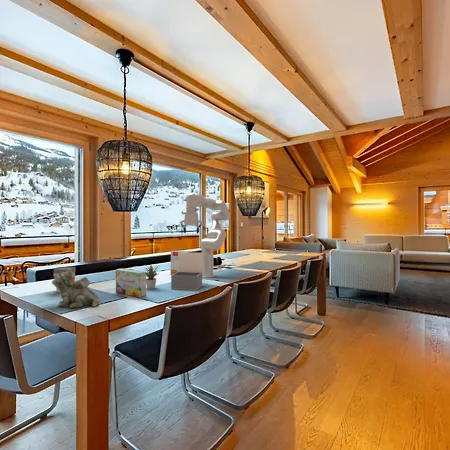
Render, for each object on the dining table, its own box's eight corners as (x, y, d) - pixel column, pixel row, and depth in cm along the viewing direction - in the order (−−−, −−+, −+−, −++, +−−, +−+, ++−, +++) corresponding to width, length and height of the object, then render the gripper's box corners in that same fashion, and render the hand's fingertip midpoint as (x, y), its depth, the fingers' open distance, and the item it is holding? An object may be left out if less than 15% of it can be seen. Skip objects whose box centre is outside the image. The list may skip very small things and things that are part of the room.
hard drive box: (170, 274, 249) (170, 251, 249) (173, 273, 256) (173, 250, 256) (188, 275, 246) (188, 251, 246) (190, 273, 254) (190, 250, 254)
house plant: (153, 284, 211) (153, 261, 211) (166, 287, 203) (166, 263, 203) (136, 288, 199) (136, 264, 199) (150, 291, 191) (150, 266, 191)
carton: (177, 284, 212) (177, 271, 212) (202, 285, 209) (202, 272, 209) (171, 288, 198) (171, 275, 198) (197, 289, 196) (197, 276, 195)
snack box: (114, 293, 186) (114, 269, 185) (121, 291, 191) (121, 268, 190) (140, 297, 176) (140, 272, 176) (146, 295, 181) (146, 270, 181)
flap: (202, 252, 210) (204, 252, 216) (177, 252, 212) (180, 251, 219) (202, 272, 209) (204, 271, 216) (177, 271, 212) (180, 270, 218)
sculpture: (63, 299, 171) (63, 264, 170) (107, 301, 167) (107, 266, 167) (42, 307, 154) (41, 269, 154) (90, 310, 151) (90, 271, 150)
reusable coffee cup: (48, 292, 186) (48, 268, 186) (66, 288, 198) (66, 266, 198) (63, 294, 182) (63, 270, 181) (80, 290, 193) (80, 267, 193)
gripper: (203, 210, 223) (203, 233, 224) (181, 210, 226) (181, 233, 226) (201, 210, 216) (201, 233, 216) (178, 210, 219) (178, 233, 219)
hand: (191, 233), depth 221 cm, fingers open, 9 cm apart
